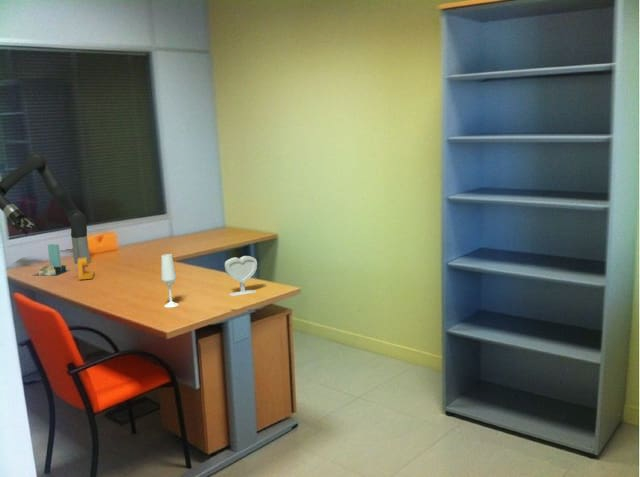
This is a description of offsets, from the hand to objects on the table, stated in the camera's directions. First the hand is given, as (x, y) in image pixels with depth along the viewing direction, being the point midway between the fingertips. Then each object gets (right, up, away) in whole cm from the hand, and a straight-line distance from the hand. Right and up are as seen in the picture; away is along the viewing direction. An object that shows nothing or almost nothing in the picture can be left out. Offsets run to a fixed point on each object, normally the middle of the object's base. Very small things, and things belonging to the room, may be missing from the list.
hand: (32, 232), depth 363 cm
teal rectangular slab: (+14, -23, +1) cm, 27 cm away
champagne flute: (+101, -35, -76) cm, 131 cm away
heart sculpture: (+132, -31, -60) cm, 148 cm away
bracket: (+38, -26, -14) cm, 48 cm away
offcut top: (+12, -22, -7) cm, 26 cm away
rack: (+13, -25, -3) cm, 28 cm away
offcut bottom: (+12, -24, -7) cm, 28 cm away
